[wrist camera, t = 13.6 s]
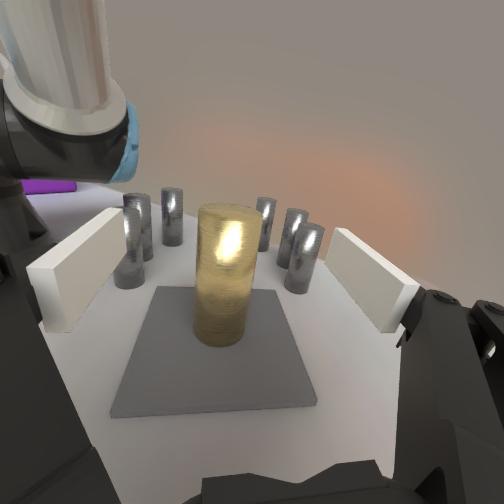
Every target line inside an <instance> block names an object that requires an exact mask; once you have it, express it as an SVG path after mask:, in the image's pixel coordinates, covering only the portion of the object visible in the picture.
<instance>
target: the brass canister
mask: <svg viewBox="0 0 504 504" xmlns="http://www.w3.org/2000/svg"><path fill="white" fill-rule="evenodd" d="M262 222H263V214H262V213H261V212H259V211H257V210H255V209H253V208H250V207H245V206H242V205H236V204H227V203H211V204H205V205H202V206H200V207H199V212H198V233H197V255H196V277H195V299H194V321H193V332H194V334H195V336H196V338H197V339H198V340H199V341H200V342H202V343H204V344H206V345H208V346H211V347H228V346H231V345H234V344H236V343H237V342H239V341H240V340H241V339H242V337H243V336H244V333H245V328H246V322H247V315H248V309H249V303H250V297H251V290H252V284H253V278H254V272H255V265H256V259H257V253H258V247H259V240H260V234H261V228H262Z"/></svg>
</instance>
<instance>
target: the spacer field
mask: <svg viewBox="0 0 504 504" xmlns="http://www.w3.org/2000/svg"><path fill="white" fill-rule="evenodd" d="M123 201H124V207H113V208H121V209H123V217H124V227H125V237H126V248H127V253H126V254H125V255H124V257H123V258H122V260H121V261H120V262H119V264H118V265H117V267H116V268H115V269H114V271H113V272H114V280H115V285H116V287H118V288H120V289H133V288H137V287H139V286H141V285H142V284H143V283H144V266H143V262H144V261H148V260H150V259H152V257H153V247H152V226H151V205H150V196H149V195H147V194H141V193H128V194H124V195H123ZM161 203H162V240H163V244H164V245H166V246H179V245H181V244H182V230H183V190H182V189H178V188H169V187H168V188H162V189H161ZM275 207H276V200H275V199H272V198H267V197H258V198H257V205H256V210H257V211H259V212H261V213H262V214H263V222H262V228H261V234H260V240H259V247H258V251H259V252H265V251H267V250H268V246H269V241H270V235H271V229H272V224H273V218H274V212H275ZM308 215H309V213H308V212H307V211H305V210H301V209H296V208H289V209H287V213H286V218H285V224H284V228H283V233H282V238H281V243H280V248H279V253H278V258H277V265H278V266H280V267H282V268H285V269H288V272H287V277H286V281H285V288H286V289H287V290H288V291H290V292H292V293H295V294H305V293H307V291H308V288H309V284H310V281H311V277H312V273H313V270H314V266H315V262H316V259H317V255H318V252H319V248H320V244H321V241H322V237H323V234H324V230H325V229H324V228H323V227H322V226H320V225H317V224H314V223H308V222H307V219H308Z"/></svg>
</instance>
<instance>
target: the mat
mask: <svg viewBox="0 0 504 504" xmlns="http://www.w3.org/2000/svg"><path fill="white" fill-rule="evenodd" d="M194 299H195V287H168V286H157V288H156V291H155V294H154V296H153V299H152V302H151V304H150V307H149V310H148V312H147V315H146V318H145V320H144V323H143V326H142V328H141V331H140V334H139V336H138V339H137V342H136V344H135V347H134V350H133V352H132V355H131V358H130V360H129V363H128V366H127V368H126V371H125V374H124V376H123V379H122V382H121V384H120V387H119V390H118V392H117V395H116V398H115V400H114V403H113V405H112V408H111V411H110V413H111V418H125V417H141V416H158V415H174V414H190V413H206V412H223V411H239V410H255V409H272V408H288V407H304V406H315V405H316V403H317V400H318V399H317V397H316V394H315V392H314V389H313V386H312V384H311V381H310V379H309V376H308V374H307V371H306V368H305V366H304V363H303V361H302V358H301V356H300V353H299V350H298V348H297V345H296V343H295V340H294V337H293V335H292V332H291V330H290V327H289V325H288V322H287V319H286V317H285V314H284V312H283V309H282V306H281V304H280V301H279V299H278V296H277V294H276V291H275V290H263V289H252V290H251V297H250V303H249V309H248V315H247V322H246V328H245V333H244V336H243V337H242V339H241V340H240V341H239V342H237V343H236V344H234V345H231V346H228V347H211V346H208V345H206V344H204V343H202V342H200V341H199V340H198V339H197V338H196V336H195V334H194V332H193V321H194Z"/></svg>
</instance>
